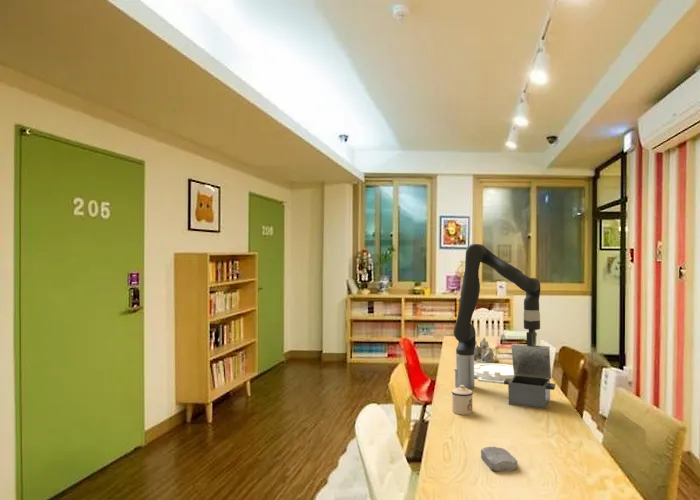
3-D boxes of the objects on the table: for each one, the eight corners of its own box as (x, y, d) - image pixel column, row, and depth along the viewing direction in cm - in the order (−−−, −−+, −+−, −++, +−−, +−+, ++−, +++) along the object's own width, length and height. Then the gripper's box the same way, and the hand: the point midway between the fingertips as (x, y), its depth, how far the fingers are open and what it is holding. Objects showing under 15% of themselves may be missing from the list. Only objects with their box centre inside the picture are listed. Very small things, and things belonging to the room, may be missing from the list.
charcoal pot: (501, 403, 229) (501, 381, 229) (508, 394, 243) (508, 374, 243) (552, 410, 218) (552, 387, 218) (556, 400, 232) (556, 379, 232)
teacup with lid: (471, 416, 211) (471, 388, 212) (450, 414, 214) (450, 387, 215) (474, 407, 223) (474, 382, 223) (454, 406, 226) (454, 380, 226)
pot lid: (510, 332, 236) (511, 330, 238) (514, 377, 242) (515, 374, 245) (548, 335, 228) (549, 332, 230) (551, 381, 234) (551, 378, 237)
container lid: (528, 372, 292) (528, 362, 292) (519, 386, 261) (519, 374, 261) (478, 367, 305) (478, 357, 305) (463, 379, 274) (463, 369, 274)
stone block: (505, 461, 169) (477, 457, 168) (508, 447, 169) (480, 443, 168) (520, 478, 157) (490, 473, 156) (523, 463, 157) (493, 458, 156)
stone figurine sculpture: (466, 358, 330) (467, 336, 329) (492, 359, 328) (493, 337, 327) (469, 364, 315) (470, 341, 314) (496, 366, 313) (497, 342, 312)
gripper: (525, 317, 247) (526, 351, 247) (521, 320, 235) (522, 356, 235) (541, 317, 244) (542, 353, 243) (538, 321, 232) (538, 358, 232)
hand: (532, 354), depth 239 cm, fingers closed
